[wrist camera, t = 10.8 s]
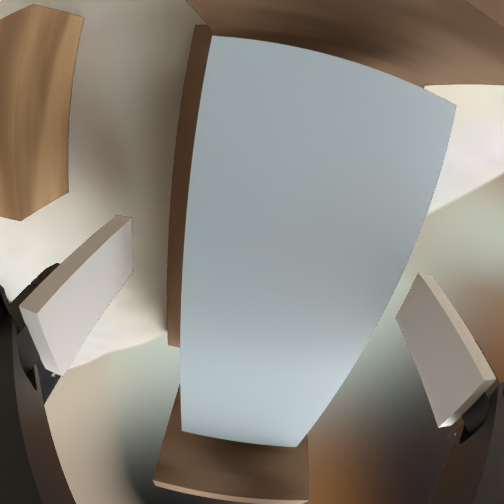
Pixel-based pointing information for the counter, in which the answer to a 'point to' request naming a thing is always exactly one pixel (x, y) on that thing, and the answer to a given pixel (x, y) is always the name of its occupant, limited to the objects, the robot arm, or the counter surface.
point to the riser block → (35, 107)
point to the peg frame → (219, 24)
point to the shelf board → (295, 230)
